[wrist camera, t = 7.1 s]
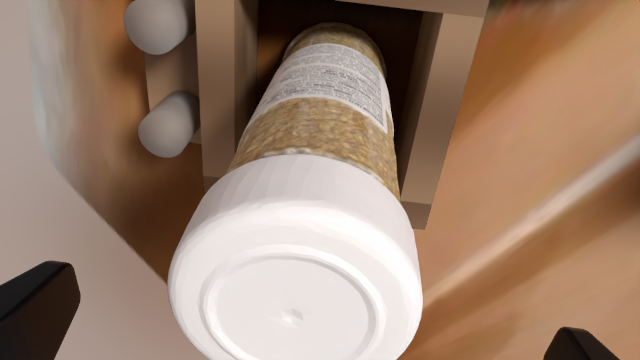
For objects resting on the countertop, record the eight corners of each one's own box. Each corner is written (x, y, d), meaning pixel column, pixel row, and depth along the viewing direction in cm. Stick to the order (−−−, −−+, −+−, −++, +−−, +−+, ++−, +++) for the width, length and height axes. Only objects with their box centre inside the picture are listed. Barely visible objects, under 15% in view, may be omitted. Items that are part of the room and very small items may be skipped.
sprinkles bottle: (355, 138, 21) (348, 427, 9) (264, 95, 20) (132, 352, 8) (407, 48, 18) (484, 283, 7) (306, -4, 18) (203, 163, 6)
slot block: (414, 178, 21) (424, 229, 18) (167, 147, 22) (131, 192, 18) (468, -41, 16) (496, -27, 13) (146, -79, 17) (91, -75, 13)
